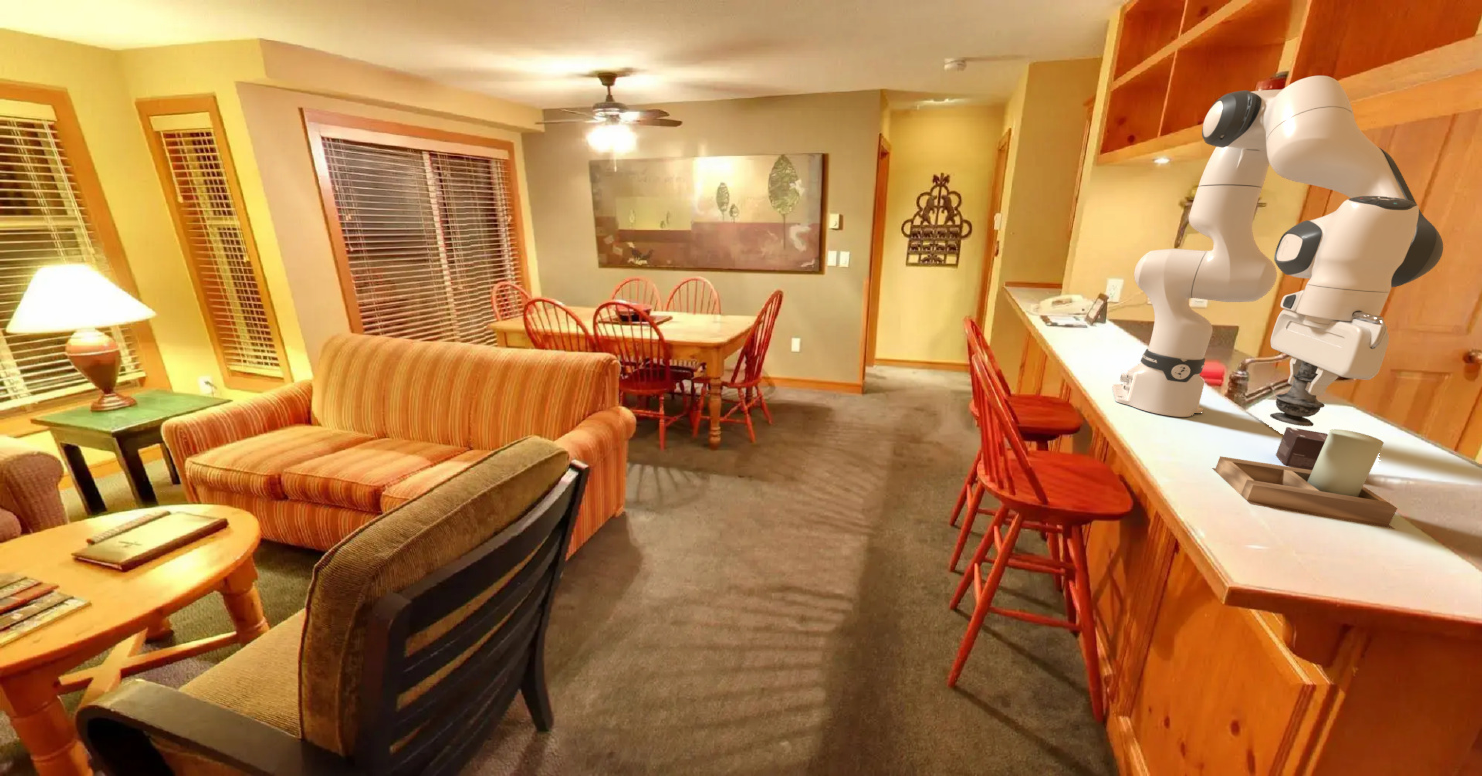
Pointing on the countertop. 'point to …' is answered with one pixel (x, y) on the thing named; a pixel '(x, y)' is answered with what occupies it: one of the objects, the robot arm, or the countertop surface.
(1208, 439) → the countertop surface
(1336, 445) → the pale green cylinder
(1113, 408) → the countertop surface
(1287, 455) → the box
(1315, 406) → the dark grey chess piece
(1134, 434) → the countertop surface
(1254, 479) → the divided wooden tray
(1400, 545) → the countertop surface
